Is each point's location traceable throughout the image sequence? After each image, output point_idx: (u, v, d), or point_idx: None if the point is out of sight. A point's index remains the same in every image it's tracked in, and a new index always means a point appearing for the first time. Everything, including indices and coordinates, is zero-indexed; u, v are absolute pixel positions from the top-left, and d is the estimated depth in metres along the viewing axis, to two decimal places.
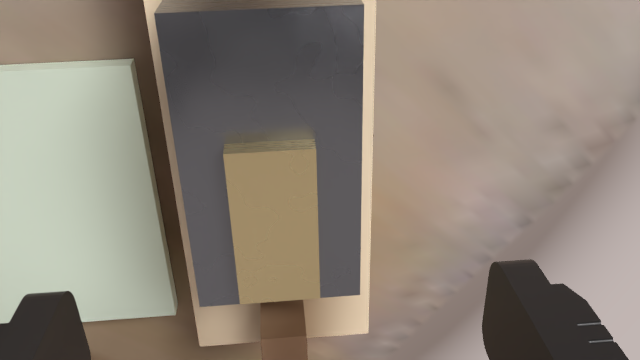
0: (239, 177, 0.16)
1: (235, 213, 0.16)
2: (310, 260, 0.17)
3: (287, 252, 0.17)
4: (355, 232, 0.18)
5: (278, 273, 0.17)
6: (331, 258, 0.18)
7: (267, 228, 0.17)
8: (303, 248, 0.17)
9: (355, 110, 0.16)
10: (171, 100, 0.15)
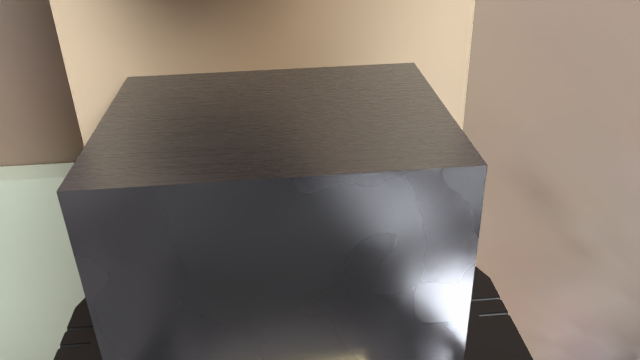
0: None
1: None
2: None
3: None
4: None
5: None
6: None
7: None
8: None
9: (452, 340, 0.08)
10: (103, 336, 0.08)
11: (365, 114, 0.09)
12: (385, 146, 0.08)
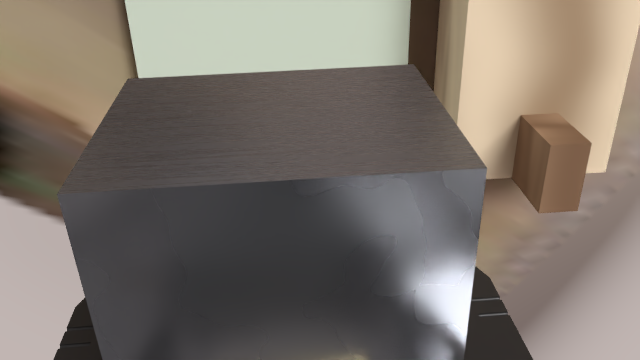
0: None
1: None
2: None
3: None
4: None
5: None
6: None
7: None
8: None
9: (452, 341, 0.08)
10: (104, 338, 0.08)
11: (365, 117, 0.09)
12: (385, 149, 0.08)
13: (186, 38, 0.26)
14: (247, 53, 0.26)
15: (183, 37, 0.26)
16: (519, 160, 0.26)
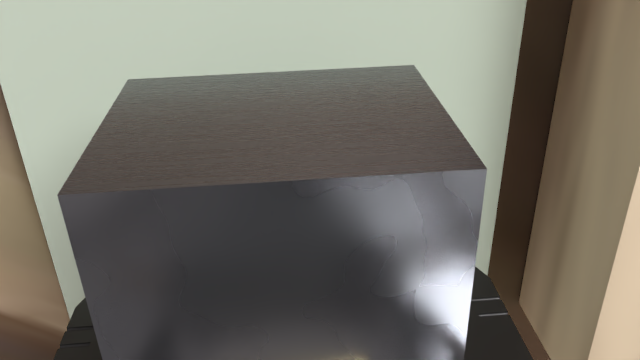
0: None
1: None
2: None
3: None
4: None
5: None
6: None
7: None
8: None
9: (452, 342, 0.08)
10: (104, 338, 0.08)
11: (365, 117, 0.09)
12: (385, 149, 0.08)
13: None
14: None
15: None
16: None
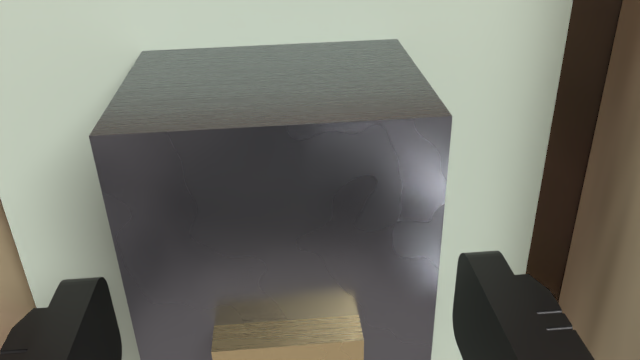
0: None
1: None
2: None
3: None
4: None
5: None
6: None
7: None
8: None
9: (427, 274, 0.10)
10: (125, 266, 0.09)
11: (351, 79, 0.10)
12: (367, 102, 0.09)
13: None
14: None
15: None
16: None
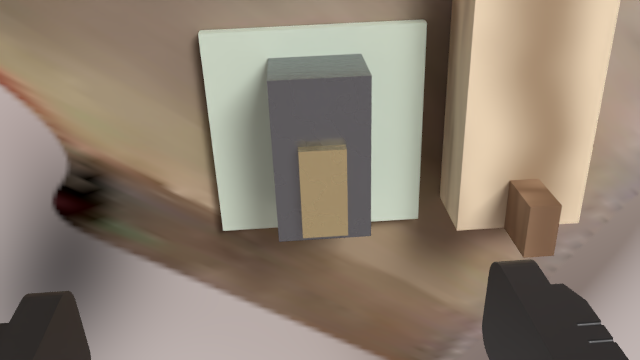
0: (305, 164, 0.30)
1: (303, 184, 0.30)
2: (342, 212, 0.31)
3: (330, 207, 0.31)
4: (368, 197, 0.31)
5: (325, 220, 0.31)
6: (354, 213, 0.32)
7: (319, 193, 0.30)
8: (339, 205, 0.31)
9: (367, 129, 0.30)
10: (272, 124, 0.29)
11: (343, 66, 0.30)
12: (347, 72, 0.29)
13: (250, 120, 0.33)
14: None
15: (248, 120, 0.33)
16: (509, 215, 0.33)
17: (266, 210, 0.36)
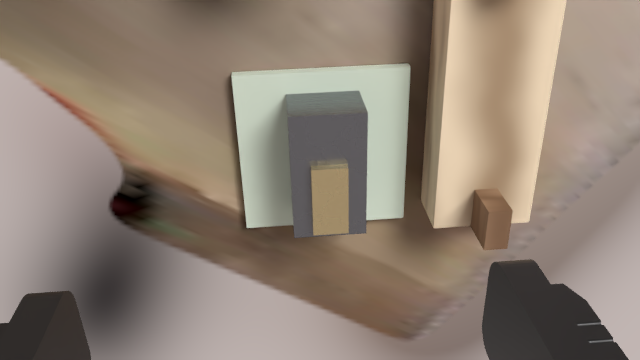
0: (316, 179, 0.38)
1: (314, 194, 0.39)
2: (344, 215, 0.40)
3: (335, 211, 0.40)
4: (364, 203, 0.40)
5: (330, 221, 0.40)
6: (353, 215, 0.41)
7: (327, 201, 0.39)
8: (341, 210, 0.40)
9: (364, 152, 0.38)
10: (291, 149, 0.38)
11: (345, 103, 0.39)
12: (349, 109, 0.38)
13: (271, 142, 0.42)
14: None
15: (269, 141, 0.42)
16: (474, 216, 0.42)
17: (281, 211, 0.45)
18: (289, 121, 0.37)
